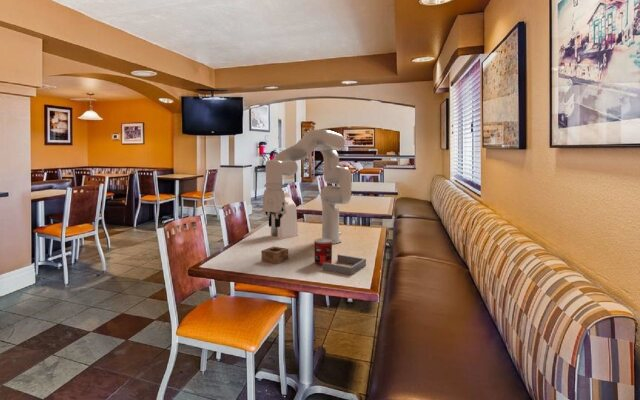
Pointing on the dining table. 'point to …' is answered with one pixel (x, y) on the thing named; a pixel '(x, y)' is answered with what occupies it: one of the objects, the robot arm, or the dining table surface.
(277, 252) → the block
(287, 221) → the milk
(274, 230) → the pin
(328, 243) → the canned food
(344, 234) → the dining table surface
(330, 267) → the tray
